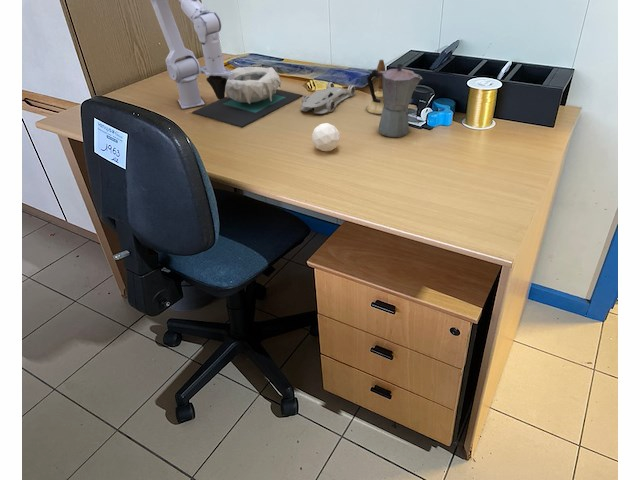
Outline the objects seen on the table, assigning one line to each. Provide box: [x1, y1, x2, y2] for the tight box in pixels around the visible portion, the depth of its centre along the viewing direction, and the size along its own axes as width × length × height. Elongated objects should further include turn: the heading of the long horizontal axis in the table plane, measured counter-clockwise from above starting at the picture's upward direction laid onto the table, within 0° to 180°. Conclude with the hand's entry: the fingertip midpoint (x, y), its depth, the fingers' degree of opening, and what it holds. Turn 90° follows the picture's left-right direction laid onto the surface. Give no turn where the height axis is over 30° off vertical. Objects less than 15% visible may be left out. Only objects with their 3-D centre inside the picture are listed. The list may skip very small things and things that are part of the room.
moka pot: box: [366, 63, 423, 138], centre depth 138 cm, size 10×15×20 cm, turn 78°
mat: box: [191, 88, 304, 128], centre depth 168 cm, size 31×24×1 cm
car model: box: [300, 81, 356, 115], centre depth 163 cm, size 11×24×5 cm, turn 148°
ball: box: [311, 122, 341, 152], centre depth 135 cm, size 8×8×8 cm
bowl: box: [225, 66, 282, 104], centre depth 167 cm, size 21×20×10 cm
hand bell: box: [366, 59, 386, 115], centre depth 153 cm, size 8×8×16 cm
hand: (221, 98), depth 157 cm, fingers closed
